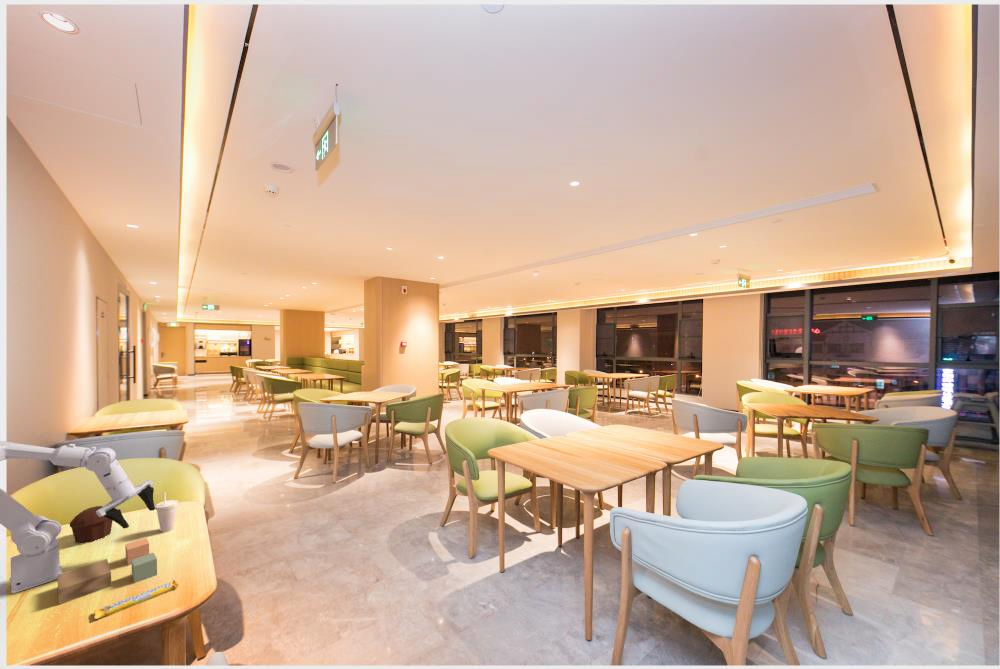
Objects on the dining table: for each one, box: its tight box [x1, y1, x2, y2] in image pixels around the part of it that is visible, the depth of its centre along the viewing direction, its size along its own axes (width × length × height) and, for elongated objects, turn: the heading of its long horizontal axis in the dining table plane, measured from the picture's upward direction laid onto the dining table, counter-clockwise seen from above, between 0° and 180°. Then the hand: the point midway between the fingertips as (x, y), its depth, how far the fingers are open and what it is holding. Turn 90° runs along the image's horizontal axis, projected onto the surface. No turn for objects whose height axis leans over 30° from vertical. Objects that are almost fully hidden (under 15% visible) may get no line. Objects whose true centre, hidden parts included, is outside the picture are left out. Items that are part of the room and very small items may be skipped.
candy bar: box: [93, 579, 180, 620], centre depth 107 cm, size 17×4×2 cm, turn 138°
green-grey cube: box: [131, 552, 158, 584], centre depth 118 cm, size 5×5×5 cm
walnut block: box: [57, 558, 112, 605], centre depth 112 cm, size 10×10×4 cm
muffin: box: [69, 505, 114, 544], centre depth 140 cm, size 12×11×10 cm
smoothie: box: [154, 491, 179, 533], centre depth 144 cm, size 6×6×14 cm
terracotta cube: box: [124, 537, 150, 566], centre depth 126 cm, size 5×5×5 cm
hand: (139, 518), depth 128 cm, fingers open, 7 cm apart
